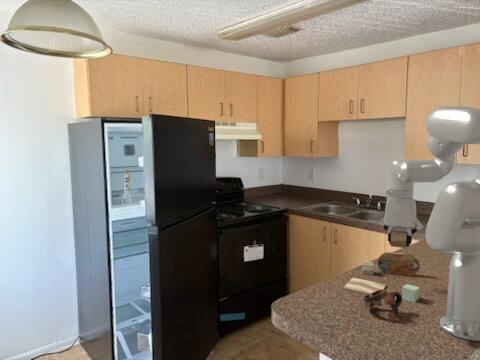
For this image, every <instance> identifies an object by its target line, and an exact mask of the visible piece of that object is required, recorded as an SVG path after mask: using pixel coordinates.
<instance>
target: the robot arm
mask: <svg viewBox="0 0 480 360" xmlns="http://www.w3.org/2000/svg"><path fill="white" fill-rule="evenodd" d="M425 128H426V132H427V133H428V135H429V136H430V137H429V138H428V139H427V144H426V145H427V146H426V147H427V149H428V151H429V152H430V153H431V154H432V155H433V156H434V157H435V158H433V159H396V160H392V162H391V163H390V185H389V186H390V187H389V190H386V191H385V195H388V196H389V197H387V198H386V203H385V211H384V216H383V217H382V218H381V219H380V220H379V221H378V225H380V226H381V227H382V228H383V229H384V230H385V231H386V233H387V241H388V243H389V245H391V232H392V231H393V230H394V227H395V228H406V231H407V232H408V234H407V241H406V246H407V247H406V248H408V247H410V245H412V240H413V238H412V237H413V235H414V234H416V232H418V231H420V230H422V229H423V228H424V225H423V224H422V223H421V221H420V220H419V219H418V218H417V204H416V203H417V202H416V199H415V198H414V184H416V183H436V182H438V181H440V180H442V179H444V178H445V177H446V176H447V175H448V174H450V173H451V172H452V170H453V169H454V167H455V163H456V154H457V153H459V151H460V150H462V149H463V148H464V147H465V146H467V145H480V108H476V107H470V106H439V107H437V108H434V109H433V110H432V111H431V112H430V113H429V115H428V116H427V118H426V121H425ZM415 226H416V227H415ZM425 240H426V244H427V245H428V247H429V248H430V249H431V250H432V251H433V252H436V253H441V254H453V255H452V256H451V259H450V262H449V270H448V282H447V283H448V284H447V298H446V299H447V300H446V314H445V315H444V316H441V318H440V319H439V326H440V327H441V328H442V330H443V331H445V332H446V333H448V334H451V335H452V336H455V337H457V338H460V339H464V340H467V341H473V342H480V169H479V171H478V172H477V175H476V176H475V178H474V179H473V180H472V179H471V180H470V181H469V180H468V181H467V180H466V181H465V180H464V181H463V180H462V181H461V180H460V181H453V182H450V183H448V184H446V185H445V186H444V187H443V188H441V190H440V191H439V193H438V195H437V197H436V199H435V203H434V205H433V208H432V210H431V212H430V215H429V219H428V222H427V224H426V228H425Z"/></svg>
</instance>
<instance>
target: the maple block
mask: <svg viewBox="0 0 480 360" xmlns="http://www.w3.org/2000/svg"><path fill="white" fill-rule="evenodd" d="M374 269H375V267H374V262H372V261H362V275H367V276H374Z"/></svg>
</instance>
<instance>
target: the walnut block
mask: <svg viewBox="0 0 480 360" xmlns="http://www.w3.org/2000/svg"><path fill="white" fill-rule="evenodd" d="M407 234H408V232H407V230H406V231H405V230H397V229H392V232H391V244H390V247H395V248H400V249H407V248H408V247H407V246H406V241H407Z"/></svg>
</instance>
